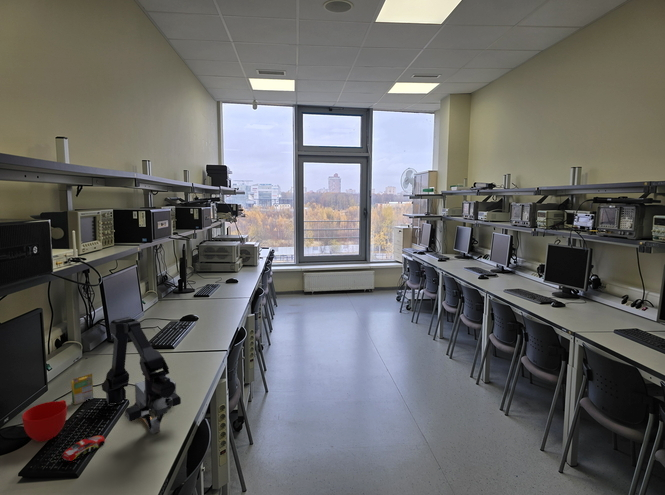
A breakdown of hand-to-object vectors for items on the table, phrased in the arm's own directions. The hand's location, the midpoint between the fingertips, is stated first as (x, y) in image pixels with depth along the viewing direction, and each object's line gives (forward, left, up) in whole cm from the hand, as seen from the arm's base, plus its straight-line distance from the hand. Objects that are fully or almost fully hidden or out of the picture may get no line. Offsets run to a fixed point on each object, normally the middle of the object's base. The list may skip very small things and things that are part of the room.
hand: (154, 426), depth 145 cm
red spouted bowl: (-29, +23, -2) cm, 37 cm away
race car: (-22, +3, -2) cm, 22 cm away
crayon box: (-15, +41, -2) cm, 44 cm away
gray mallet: (0, +6, -1) cm, 6 cm away
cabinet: (+7, +19, -1) cm, 20 cm away
